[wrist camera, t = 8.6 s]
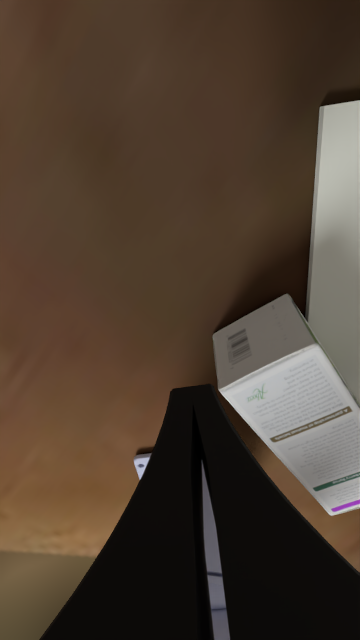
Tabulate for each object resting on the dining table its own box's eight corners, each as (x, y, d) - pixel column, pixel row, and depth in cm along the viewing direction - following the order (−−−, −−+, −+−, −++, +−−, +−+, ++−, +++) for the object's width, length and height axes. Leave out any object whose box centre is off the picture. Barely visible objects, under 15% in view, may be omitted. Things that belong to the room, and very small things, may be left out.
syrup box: (214, 393, 17) (327, 521, 22) (323, 339, 15) (415, 494, 20) (209, 333, 22) (303, 450, 27) (290, 287, 20) (372, 424, 25)
